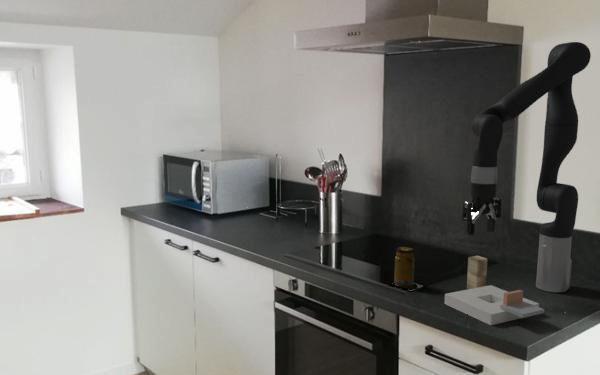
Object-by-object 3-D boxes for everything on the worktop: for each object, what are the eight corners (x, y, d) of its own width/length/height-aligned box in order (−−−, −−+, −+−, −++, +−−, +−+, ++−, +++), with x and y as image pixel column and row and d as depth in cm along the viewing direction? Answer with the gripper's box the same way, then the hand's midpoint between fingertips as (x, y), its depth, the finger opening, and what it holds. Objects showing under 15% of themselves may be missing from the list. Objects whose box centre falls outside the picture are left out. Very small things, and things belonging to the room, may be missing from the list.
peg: (476, 286, 190) (478, 255, 188) (485, 289, 186) (487, 258, 185) (466, 288, 188) (468, 257, 186) (475, 291, 184) (477, 260, 183)
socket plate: (490, 294, 182) (490, 285, 181) (538, 314, 166) (539, 303, 166) (444, 303, 173) (444, 293, 173) (490, 325, 158) (491, 314, 157)
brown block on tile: (521, 303, 165) (522, 289, 164) (544, 312, 158) (545, 297, 157) (500, 308, 161) (501, 293, 160) (522, 317, 154) (523, 302, 154)
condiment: (401, 280, 195) (402, 244, 193) (423, 286, 189) (425, 249, 187) (388, 285, 189) (389, 248, 188) (411, 291, 184) (412, 254, 182)
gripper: (476, 184, 174) (473, 238, 176) (509, 181, 181) (506, 233, 183) (457, 181, 180) (454, 233, 183) (490, 177, 187) (487, 228, 190)
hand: (480, 233), depth 183 cm, fingers open, 8 cm apart
